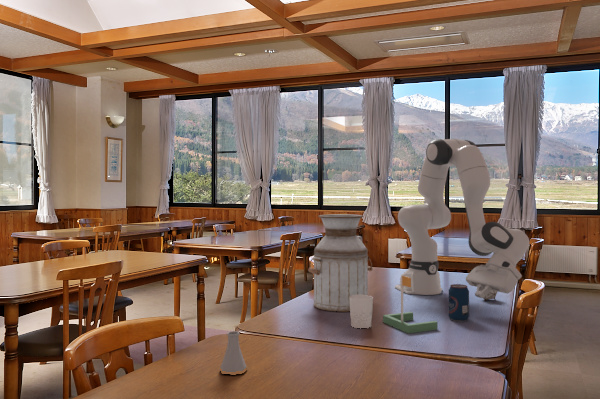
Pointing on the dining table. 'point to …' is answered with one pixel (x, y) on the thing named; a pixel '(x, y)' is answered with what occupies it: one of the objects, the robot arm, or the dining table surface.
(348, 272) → the milk can
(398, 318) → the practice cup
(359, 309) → the white cup
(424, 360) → the dining table surface
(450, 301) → the soda can
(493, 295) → the game die
